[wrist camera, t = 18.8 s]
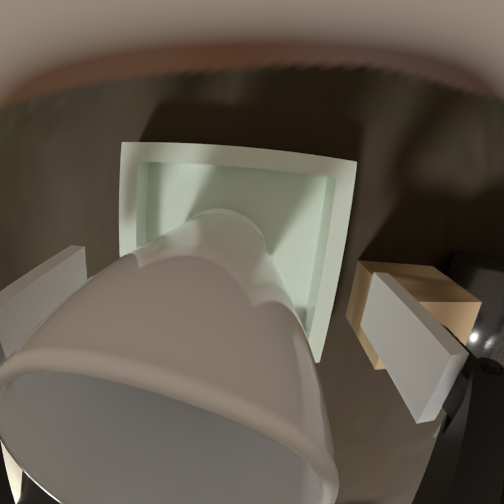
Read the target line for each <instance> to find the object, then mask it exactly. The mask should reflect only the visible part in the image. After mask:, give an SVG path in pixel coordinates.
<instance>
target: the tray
mask: <svg viewBox="0 0 504 504" xmlns="http://www.w3.org/2000/svg"><path fill="white" fill-rule="evenodd" d="M356 168H357V162H355V161H349V160H343V159H337V158H331V157H324V156H318V155H311V154H303V153H296V152H287V151H279V150H270V149H260V148H250V147H238V146H225V145H210V144H192V143H164V142H122V147H121V164H120V190H119V243H120V257H122V256H124V255H126V254H127V253H129V252H131V251H133V250H134V249H136V248H138V247H140V246H142V245H144V244H145V243H147V242H149V241H151V240H153V239H155V238H157V237H159V236H161V235H163V234H165V233H167V232H168V231H170V230H172V229H174V228H176V227H178V226H180V225H182V224H184V223H185V222H186V221H188V220H189V219H190V218H191V217H193V216H194V215H196V214H198V213H200V212H202V211H205V210H209V209H215V208H224V209H230V210H234V211H237V212H240V213H242V214H244V215H245V216H247V217H248V218H250V219H251V220H252V221H253V222H254V223H255V224H256V225H257V226H258V227H259V229H260V230H261V232H262V233H263V235H264V237H265V240H266V243H267V246H268V251H269V253H270V256H271V258H272V260H273V262H274V264H275V267H276V269H277V271H278V273H279V275H280V277H281V279H282V281H283V283H284V285H285V288H286V290H287V292H288V294H289V296H290V298H291V300H292V302H293V304H294V307H295V309H296V311H297V313H298V316H299V318H300V320H301V323H302V325H303V328H304V331H305V333H306V336H307V339H308V341H309V344H310V347H311V350H312V353H313V356H314V360H315V362H320V358H321V354H322V350H323V346H324V342H325V338H326V334H327V330H328V325H329V321H330V317H331V312H332V308H333V303H334V298H335V294H336V289H337V284H338V279H339V274H340V269H341V264H342V258H343V253H344V247H345V242H346V236H347V230H348V224H349V218H350V211H351V205H352V198H353V191H354V183H355V176H356Z"/></svg>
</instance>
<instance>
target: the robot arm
mask: <svg viewBox="0 0 504 504" xmlns="http://www.w3.org/2000/svg"><path fill="white" fill-rule="evenodd" d="M85 281H87V271H86V260H85V247H82V246H72V245H71V246H69V247H68V248H66V249H64V250H63V251H61V252H60V253H58V254H56V255H55V256H53V257H51V258H50V259H48V260H47V261H45V262H43V263H42V264H40V265H39V266H37V267H36V268H34V269H33V270H31V271H29V272H28V273H26V274H25V275H23V276H22V277H20V278H19V279H17V280H16V281H14V282H13V283H11V284H10V285H9V286H7V287H6V288H4V289H3V290H1V291H0V365H1V364H2V363H3V362H4V361H5V360H6V359H7V358H8V356H9V355H10V354H11V353H12V352H13V351H14V350H15V348H16V347H17V346H18V345H19V344H20V343H21V342H22V341H23V339H24V338H25V337H26V336H27V335H28V334H29V333H30V332H31V331H32V330H33V329H34V328H35V327H36V326H37V324H38V323H39V322H40V321H41V320H42V319H43V318H44V317H45V316H46V315H47V314H49V313H50V312H51V311H52V310H53V309H54V308H55V307H56V306H57V305H58V304H59V303H60V302H61V301H63V300H64V299H65V298H66V297H67V296H68V295H70V294H71V293H72V292H73V291H74V290H76V289H77V288H78V287H79V286H80V285H82V284H83V283H84V282H85ZM360 326H361V327H362V329H363V331H364V332H365V334H366V336H367V337H368V339H369V341H370V342H371V344H372V346H373V347H374V349H375V351H376V352H377V354H378V356H379V358H380V359H381V361H382V363H383V364H384V366H385V368H386V370H387V371H388V373H389V375H390V377H391V378H392V380H393V382H394V384H395V385H396V387H397V389H398V391H399V392H400V394H401V396H402V398H403V400H404V401H405V403H406V405H407V407H408V409H409V410H410V412H411V414H412V416H413V418H414V420H415V421H416V423H422V422H427V421H432V420H435V418H436V417H437V415H438V413H439V411H440V410H441V408H442V407H443V408H444V410H445V411H446V413H447V415H446V416H445V418H444V420H443V421H442V423H441V424H440V426H439V428H438V429H437V431H436V432H435V434H434V435H433V437H434V438H435V437H436V436H437V435H438V437H437V440H436V443H435V446H434V449H433V452H432V455H431V457H430V460H429V463H428V466H427V468H426V471H425V473H424V476H423V478H422V481H421V483H420V486H419V488H418V490H417V493H416V495H415V497H414V499H413V502H412V504H504V367H503V366H502V365H501V364H500V363H498V362H497V361H495V360H493V359H490V358H486V357H480V358H478V359H477V358H476V357H475V356H474V355H473V353H472V352H471V351H470V350H469V349H468V348H467V347H466V346H465V345H464V344H463V343H462V342H460V340H459V339H458V338H457V337H456V336H455V335H454V334H453V333H452V332H451V331H450V330H449V329H448V328H447V327H446V326H444V325H442V324H441V323H439V322H438V321H437V320H436V319H435V318H434V317H433V316H432V315H431V314H430V313H429V312H428V311H427V310H426V309H425V308H424V307H423V306H422V305H421V304H420V303H419V302H418V301H417V300H416V299H415V298H414V297H413V296H412V295H411V294H410V293H409V292H408V291H407V290H406V289H405V288H403V287H402V286H401V285H400V284H399V283H398V282H397V281H396V280H395V279H394V278H393V277H392V276H391V275H390V274H388V273H380V272H373V277H372V281H371V285H370V289H369V293H368V297H367V301H366V305H365V309H364V313H363V317H362V321H361V324H360ZM0 504H15V501H14V498H13V495H12V491H11V487H10V484H9V480H8V476H7V472H6V467H5V463H4V458H3V453H2V447H1V442H0ZM17 504H61V503H59V502H58V501H56V500H55V499H54V498H52V497H51V496H50V495H49V494H47V493H46V492H45V491H44V490H43V489H41V488H40V487H39V486H38V485H37V484H36V483H35V482H34V481H33V480H32V479H31V478H30V477H29V476H28V475H27V474H26V473H25V472H24V471H23V472H22V482H21V494H20V499H19V501H18V503H17Z"/></svg>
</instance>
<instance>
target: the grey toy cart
mask: <svg viewBox="0 0 504 504" xmlns="http://www.w3.org/2000/svg"><path fill="white" fill-rule="evenodd" d="M447 277H449V278H450V279H451V280H453V281H454V282H456V283H457V284H458V285H460V286H461V287H462V288H464V289H465V290H467V291H468V292H469V293H471V294H472V295H473V296H475V297H476V298H477V299H479V300H480V301H481V302H482V303H481V306H480V309H479V312H478V315H477V317H476V320H475V323H474V325H473V328H472V331H471V333H470V336H469V338H468V341H467V343H466V347H467V348H468V349H469V350H470V351H471V352H472V353H473V355H474V356H475V357H476V358H477V359H478V358H480V357H486V358H490V359H493V360H495V361H497V362H498V363H500V364H501V365H502V366H503V367H504V261H501V260H499V259H496V258H493V257H490V256H487V255H484V254H480V253H476V252H471V251H462V250H459V251H455V252H454V253H453V257H452V261H451V265H450V269H449V273H448V276H447Z"/></svg>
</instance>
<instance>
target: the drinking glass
mask: <svg viewBox="0 0 504 504" xmlns="http://www.w3.org/2000/svg"><path fill="white" fill-rule="evenodd" d="M0 439H1V441H2V443H3V444H4V446H5V448H6V449H7V451H8V452H9V454H10V455H11V456H12V458H13V459H14V460H15V462H16V463H17V464H18V465H19V467H20V468H21V469H22V470H23V471H24V472H25V473H26V474H27V475H28V476H29V477H30V478H31V479H32V480H33V481H34V482H35V483H36V484H37V485H38V486H39V487H40V488H41V489H43V490H44V491H45V492H46V493H47V494H49V495H50V496H51V497H52V498H54V499H55V500H56V501H58V502H59V503H61V504H334V503H335V501H336V499H337V496H338V492H339V475H338V470H337V466H336V459H335V453H334V446H333V440H332V434H331V428H330V423H329V418H328V413H327V408H326V403H325V398H324V394H323V390H322V385H321V381H320V378H319V374H318V370H317V366H316V363H315V360H314V356H313V353H312V350H311V347H310V344H309V341H308V339H307V336H306V333H305V331H304V328H303V325H302V323H301V320H300V318H299V316H298V313H297V311H296V309H295V307H294V304H293V302H292V300H291V298H290V296H289V294H288V292H287V290H286V288H285V285H284V283H283V281H282V279H281V277H280V275H279V273H278V271H277V269H276V267H275V264H274V262H273V260H272V258H271V256H270V253H269V251H268V246H267V243H266V240H265V237H264V235H263V233H262V232H261V230H260V229H259V227H258V226H257V225H256V224H255V223H254V222H253V221H252V220H251V219H250V218H248V217H247V216H245V215H244V214H242V213H240V212H237V211H234V210H230V209H224V208H215V209H209V210H205V211H202V212H200V213H198V214H196V215H194V216H193V217H191V218H190V219H189V220H188V221H186V222H185V223H184V224H182V225H180V226H178V227H176V228H174V229H172V230H170V231H168V232H167V233H165V234H163V235H161V236H159V237H157V238H155V239H153V240H151V241H149V242H147V243H145V244H144V245H142V246H140V247H138V248H136V249H134V250H133V251H131V252H129V253H127V254H126V255H124V256H122V257H120V258H119V259H117V260H115V261H114V262H112V263H111V264H109V265H107V266H106V267H104V268H103V269H102V270H100V271H99V272H97V273H96V274H95V275H93V276H92V277H91V278H89V279H88V280H87V281H85V282H84V283H83V284H82V285H80V286H79V287H78V288H77V289H76V290H74V291H73V292H72V293H71V294H70V295H68V296H67V297H66V298H65V299H64V300H63V301H61V302H60V303H59V304H58V305H57V306H56V307H55V308H54V309H53V310H52V311H51V312H50V313H49V314H47V315H46V316H45V317H44V318H43V319H42V320H41V321H40V322H39V323H38V324H37V326H36V327H35V328H34V329H33V330H32V331H31V332H30V333H29V334H28V335H27V336H26V337H25V338H24V339H23V341H22V342H21V343H20V344H19V345H18V346H17V347H16V348H15V350H14V351H13V352H12V353H11V354H10V355H9V356H8V358H7V359H6V360H5V361H4V362H3V363H2V364H1V365H0Z"/></svg>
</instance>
